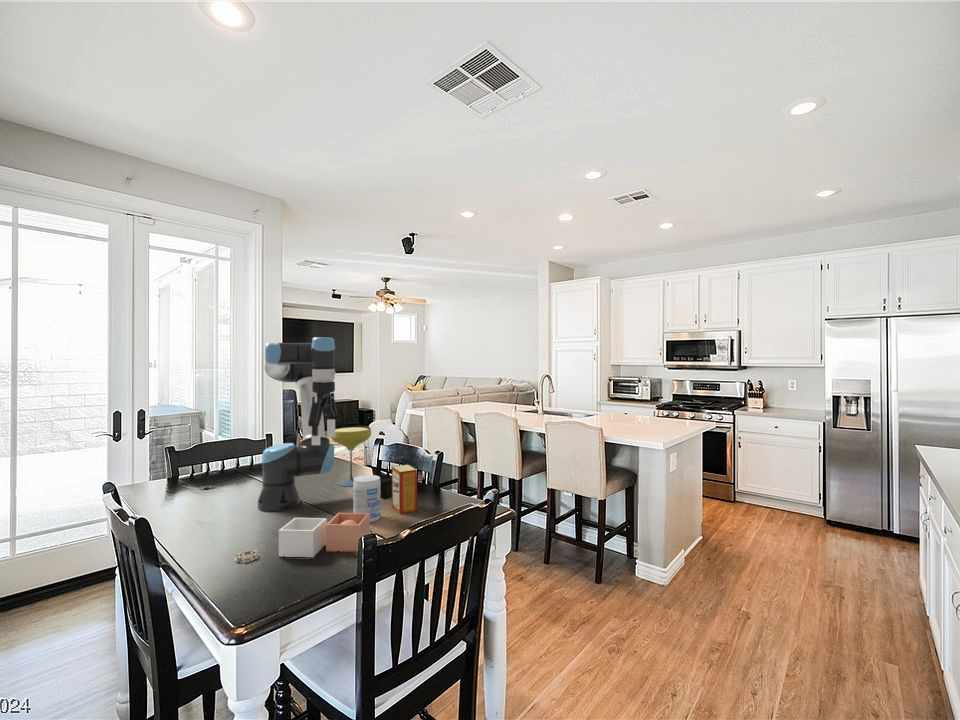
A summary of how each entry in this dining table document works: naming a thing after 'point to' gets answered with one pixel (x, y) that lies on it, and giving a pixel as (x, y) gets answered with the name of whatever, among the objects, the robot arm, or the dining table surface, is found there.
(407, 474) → the baking soda box
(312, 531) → the white open box
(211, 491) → the dining table surface
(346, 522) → the ball
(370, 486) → the supplement tub
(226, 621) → the dining table surface
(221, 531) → the dining table surface
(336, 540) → the terracotta open box
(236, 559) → the ball stand
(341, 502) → the dining table surface
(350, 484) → the cocktail glass
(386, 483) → the digital camera
